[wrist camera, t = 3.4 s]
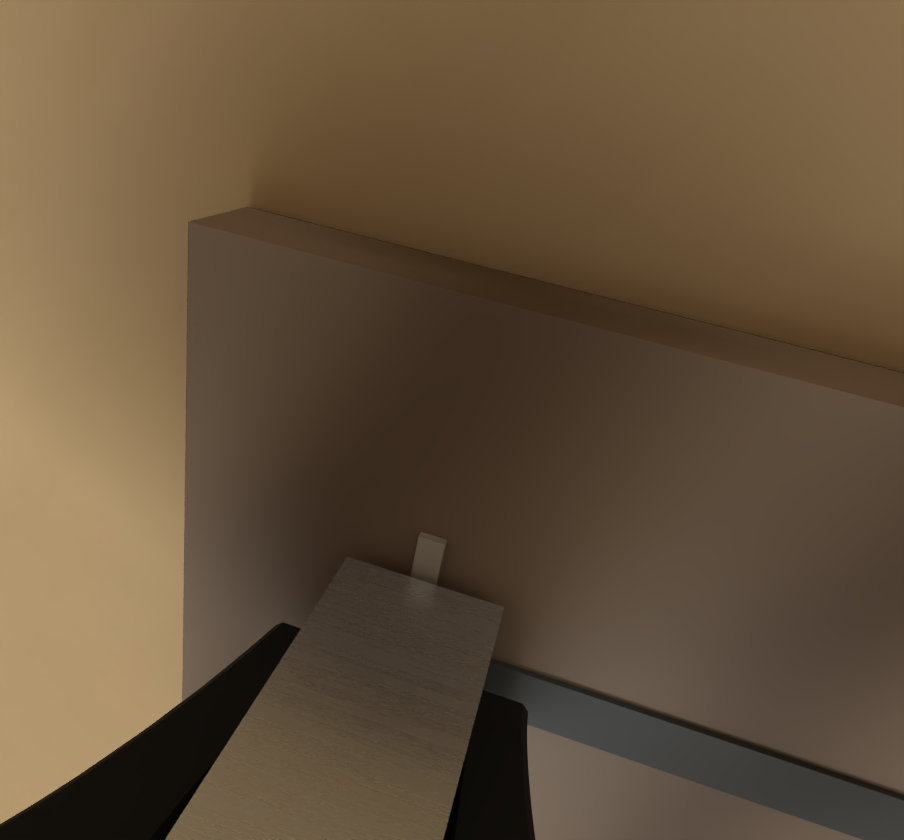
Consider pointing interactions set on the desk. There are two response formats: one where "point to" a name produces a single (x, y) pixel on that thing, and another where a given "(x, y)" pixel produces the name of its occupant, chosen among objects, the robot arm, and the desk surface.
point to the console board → (564, 521)
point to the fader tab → (356, 719)
